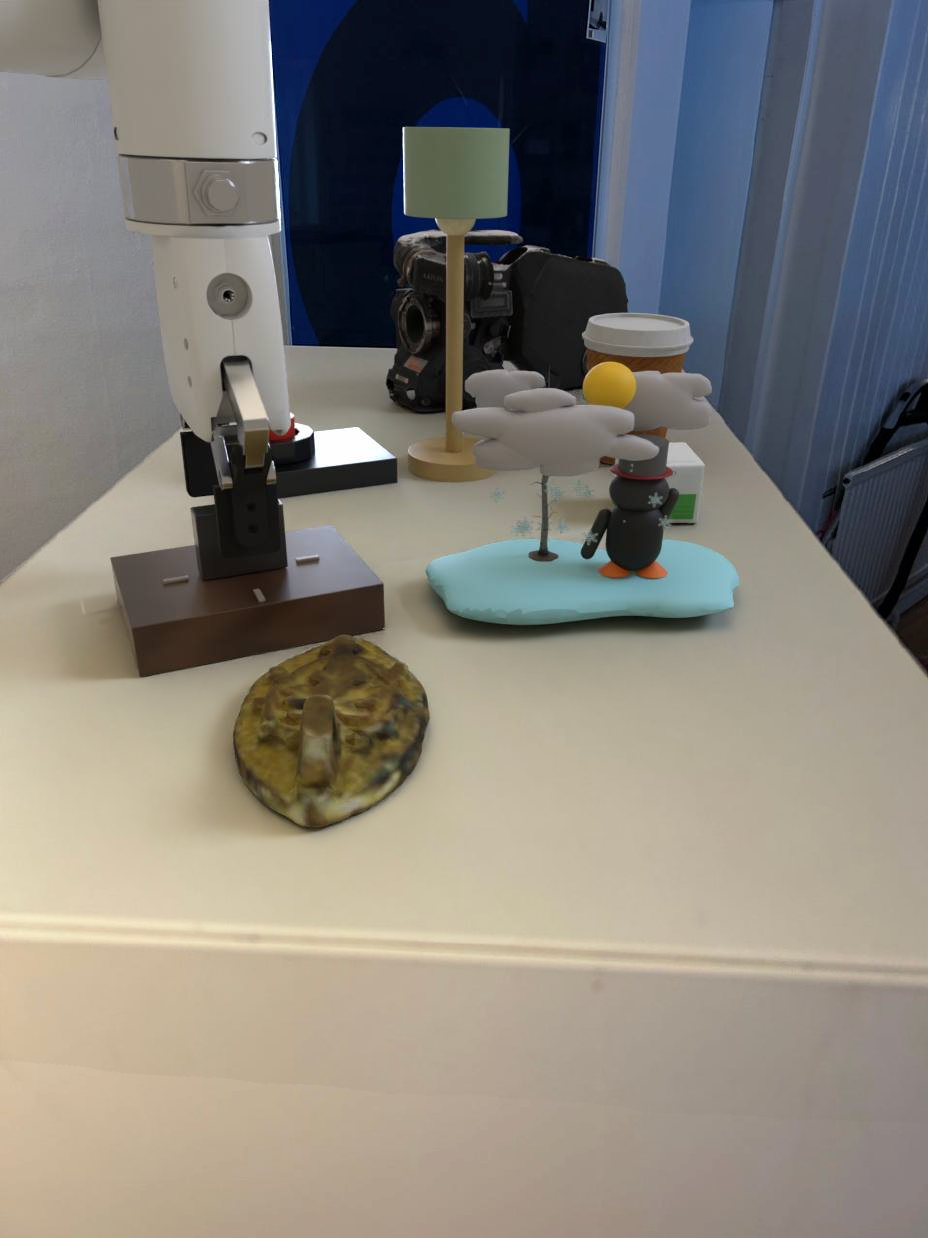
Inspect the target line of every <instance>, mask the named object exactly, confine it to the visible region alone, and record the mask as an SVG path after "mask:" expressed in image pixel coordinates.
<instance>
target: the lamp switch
mask: <svg viewBox="0 0 928 1238" xmlns="http://www.w3.org/2000/svg"><path fill="white" fill-rule="evenodd" d="M290 416H291V426H290V428H289V430H288V431H287V433H286V434H284V435H280V436H278V435H276V434H275V433H274V432H273V431H271V430H270V428H269V440H279V439H287V438H291V437H294V436H296V434H295V423H296V422H295V415H294V414H293V413H292V412H290Z"/></svg>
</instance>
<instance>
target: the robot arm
mask: <svg viewBox="0 0 928 1238" xmlns="http://www.w3.org/2000/svg"><path fill="white" fill-rule="evenodd" d="M269 4H270V1H269V0H0V73H10V74H21V75H32V76H33V75H37V76H44V77H47V78H57V79H71V80H83V81H85V80H86V81H107V88H108V97H109V105H110V111H111V113H110V114H111V120H112V129H113V136H114V144H115V151H116V154H117V155H116V160H117V161H116V162H117V168H118V176H119V183H120V184H119V185H120V193H121V201H122V209H123V216H124V222H125V230H126V231H127V232H130V233H134V234H135V233H136V234H139V235H146V236H150V243H151V254H152V255H151V256H152V266H153V274H154V275H153V276H154V281H155V291H156V292H155V293H156V302H157V312H158V319H159V320H158V321H159V327H160V335H161V344H162V349H163V357H164V364H165V369H166V376H167V380H168V381H167V382H168V386H169V391H170V396H171V398H172V401H173V403H174V405H175V408H177V410H178V412H179V420H180V427H181V428H182V430H183V431H179V436H180V437H179V438H180V447H181V454H182V465H183V474H184V484H185V490H186V493H187V495H188V496H189V497H190V498H203V497H211V496H213V501H214V504H215V513H216V523H217V533H218V543H219V551H220V553H221V555H222V556H223V557H224V558H226V559H232V558H239V557H246V556H253V555H260V554H267V553H274V552H277V551H278V550H279V549H280V547H281V541H280V525H279V509H278V493H277V481H276V471H275V466H274V462H273V460H274V454H273V453H272V448H270V444H269V428H270V430H271V431H273V432H274V433H275V434H276V435H278V436H280V435H284V434H286V433H287V431H288V430H289V428H290V426H291V416H290V413H291V405H290V396H289V386H288V385H289V384H288V376H287V375H288V374H287V365H286V354H285V344H284V335H283V334H284V333H283V324H282V316H281V315H282V313H281V308H280V299H279V291H278V284H277V277H276V271H275V266H274V259H273V253H272V248H271V245H270V240H269V236H271V235H275V234H279V233H280V232H282V225H281V222H282V221H281V208H280V207H281V205H280V187H279V171H278V169H279V168H278V166H279V165H278V160H277V137H276V117H275V116H276V115H275V95H274V79H273V59H272V58H273V57H272V41H271V21H270V5H269ZM232 423H234V424H232ZM235 423H236V424H235ZM237 444H240V445H237Z"/></svg>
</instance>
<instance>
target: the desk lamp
mask: <svg viewBox="0 0 928 1238" xmlns="http://www.w3.org/2000/svg"><path fill="white" fill-rule="evenodd" d="M510 130H511V129H510V128H507V127H506V128H504V127H503V128H502V127H501V128H500V127H499V128H498V127H454V126H453V127H446V126H445V127H443V126H442V127H441V126H439V127H438V126H403V127H402V155H403V156H402V157H403V158H402V160H403V164H402V165H403V214H404V215H405V216H408V217H413V218H422V219H423V218H426V219H434V220H435V223H436V225H437V227H438V229H440V230H441V231H442V232H443V233H445V234H446V235H447V251H446V410H445V436H444V437H433V438H428V439H423V440H420V441H416V442H415V443H413V444H411V445H410V446H409V447H408V449H407V470H408V471H409V472H410V473H411V474H412V475H414V476H416V477H419V478H421V479H425V480H429V481H435V482H442V483H467V482H468V483H469V482H475V481H481V480H485V479H488V478H491V477H493V476H495V475H496V474H497V473H498V472H499V471H493V470H487V469H483V468H480V467H478V466H476V464H475V456H474V455H473V454H472V447H473V445H474V444H476V443H477V442H479V441H481V440H482V439H477V438H470V437H463V432H462V431H459V430H457V429H456V428H455V427H454V425H453V423H452V414H453V413H454V412H457V411H463V408H462V383H463V304H464V252H465V245H464V235H465V234H467V233H468V232H469V231H470V230H473V227H474V226H475V224H476V220H482V219H483V220H484V219H499V218H504V217H505V218H506V217H507V216H508V195H509V193H508V192H509V167H510V166H509V165H510V163H509V161H510V136H511V135H510V132H511V131H510Z"/></svg>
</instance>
